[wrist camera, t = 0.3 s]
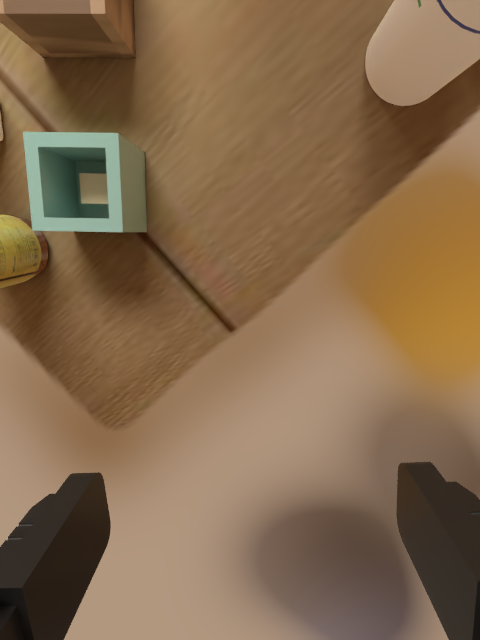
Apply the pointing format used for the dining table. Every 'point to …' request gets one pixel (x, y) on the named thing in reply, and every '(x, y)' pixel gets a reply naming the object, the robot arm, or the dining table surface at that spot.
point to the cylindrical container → (422, 48)
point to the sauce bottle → (20, 251)
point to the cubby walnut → (73, 27)
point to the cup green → (85, 182)
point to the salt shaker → (1, 129)
